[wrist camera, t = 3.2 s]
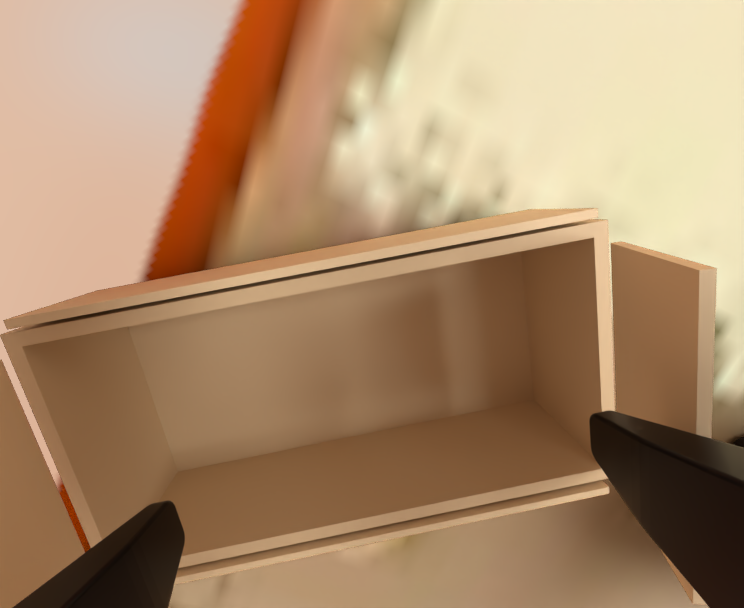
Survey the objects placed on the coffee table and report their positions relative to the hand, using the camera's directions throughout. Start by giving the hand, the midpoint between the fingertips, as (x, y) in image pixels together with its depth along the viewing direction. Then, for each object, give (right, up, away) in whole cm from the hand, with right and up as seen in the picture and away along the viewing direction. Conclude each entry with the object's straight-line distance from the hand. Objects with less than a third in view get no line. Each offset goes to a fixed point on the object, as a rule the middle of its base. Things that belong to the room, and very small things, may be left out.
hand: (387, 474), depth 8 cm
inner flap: (+6, +1, +1) cm, 6 cm away
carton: (-2, +2, +8) cm, 8 cm away
